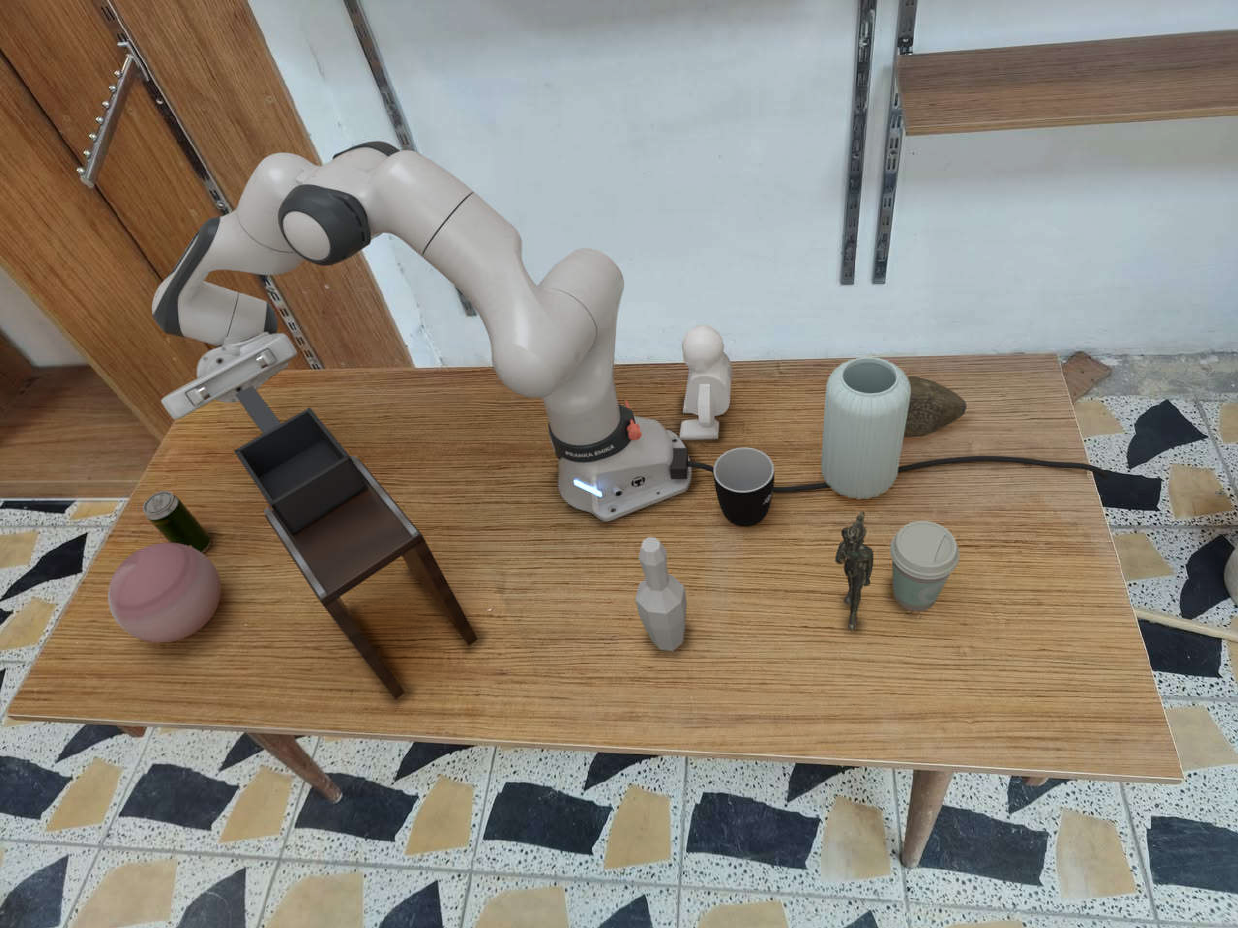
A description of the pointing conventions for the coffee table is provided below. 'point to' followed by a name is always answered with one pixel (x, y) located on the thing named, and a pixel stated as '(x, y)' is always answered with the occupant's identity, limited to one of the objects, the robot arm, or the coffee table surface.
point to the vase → (864, 426)
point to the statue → (855, 564)
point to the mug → (744, 485)
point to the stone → (931, 407)
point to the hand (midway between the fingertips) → (233, 377)
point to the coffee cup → (922, 563)
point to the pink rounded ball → (164, 592)
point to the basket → (297, 464)
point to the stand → (366, 562)
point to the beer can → (176, 521)
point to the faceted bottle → (660, 598)
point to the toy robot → (705, 382)
